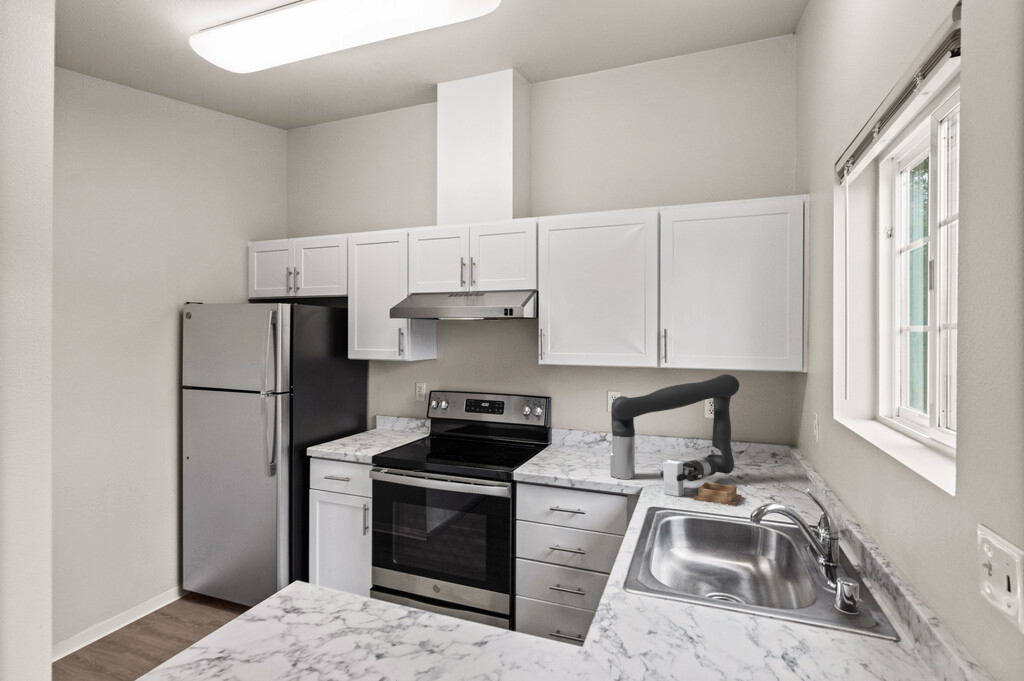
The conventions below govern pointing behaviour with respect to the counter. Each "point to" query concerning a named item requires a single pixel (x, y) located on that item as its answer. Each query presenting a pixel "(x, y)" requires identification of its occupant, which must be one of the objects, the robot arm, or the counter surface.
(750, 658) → the counter surface
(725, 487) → the walnut well board
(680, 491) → the skincare box
